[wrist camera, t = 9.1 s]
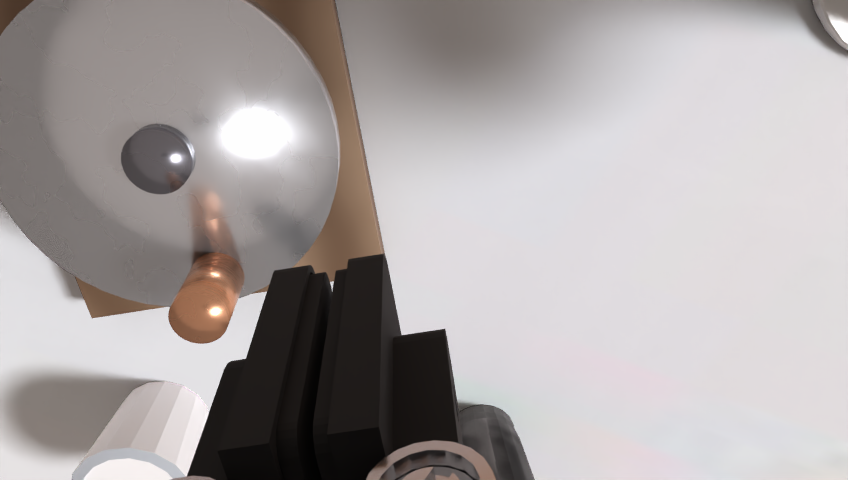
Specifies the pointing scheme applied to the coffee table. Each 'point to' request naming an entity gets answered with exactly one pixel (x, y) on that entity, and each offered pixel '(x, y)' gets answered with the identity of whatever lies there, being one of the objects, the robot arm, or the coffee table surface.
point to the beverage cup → (495, 441)
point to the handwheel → (165, 148)
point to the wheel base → (353, 202)
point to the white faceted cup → (148, 436)
